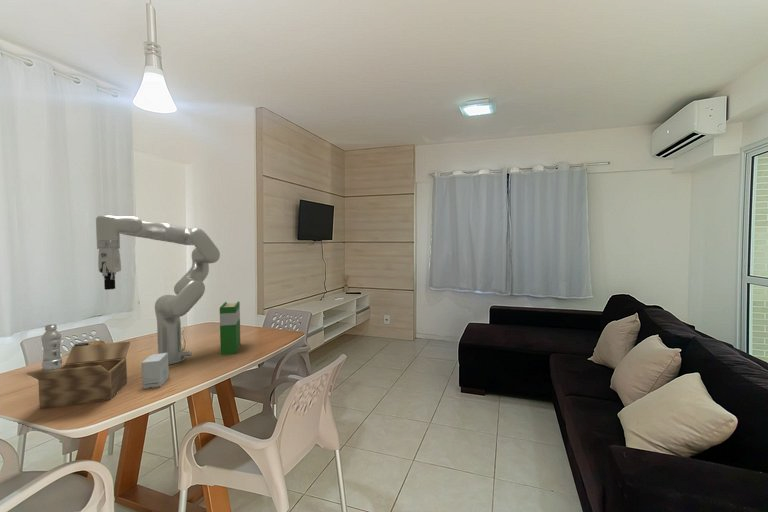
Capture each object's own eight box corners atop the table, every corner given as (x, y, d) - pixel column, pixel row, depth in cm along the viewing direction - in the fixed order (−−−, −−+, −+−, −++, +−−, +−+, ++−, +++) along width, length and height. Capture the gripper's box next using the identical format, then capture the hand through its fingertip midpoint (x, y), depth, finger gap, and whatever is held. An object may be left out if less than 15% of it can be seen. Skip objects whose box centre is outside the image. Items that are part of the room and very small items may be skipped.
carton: (127, 382, 138) (126, 358, 138) (111, 399, 123) (110, 371, 123) (64, 390, 131) (63, 364, 131) (39, 409, 116) (38, 379, 116)
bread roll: (109, 351, 180) (109, 336, 180) (102, 359, 167) (102, 343, 167) (86, 354, 176) (85, 339, 175) (77, 363, 162) (76, 346, 162)
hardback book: (225, 345, 189) (224, 302, 188) (240, 344, 191) (239, 301, 191) (220, 355, 172) (219, 307, 172) (236, 353, 174) (235, 306, 174)
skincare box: (151, 378, 142) (151, 353, 142) (169, 377, 144) (168, 352, 144) (141, 389, 132) (140, 362, 132) (160, 386, 134) (159, 360, 134)
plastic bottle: (50, 367, 157) (48, 324, 156) (66, 366, 157) (64, 323, 157) (37, 372, 150) (35, 327, 150) (54, 372, 151) (52, 326, 150)
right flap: (125, 357, 138) (125, 358, 138) (130, 341, 143) (130, 342, 144) (64, 363, 131) (65, 364, 132) (72, 346, 137) (72, 347, 137)
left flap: (100, 365, 117) (100, 366, 116) (108, 371, 123) (108, 372, 123) (27, 372, 110) (26, 374, 110) (39, 378, 116) (39, 380, 116)
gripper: (112, 245, 137) (113, 290, 138) (125, 245, 151) (127, 286, 152) (89, 245, 135) (90, 292, 135) (105, 245, 149) (106, 287, 149)
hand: (110, 289), depth 144 cm, fingers closed
